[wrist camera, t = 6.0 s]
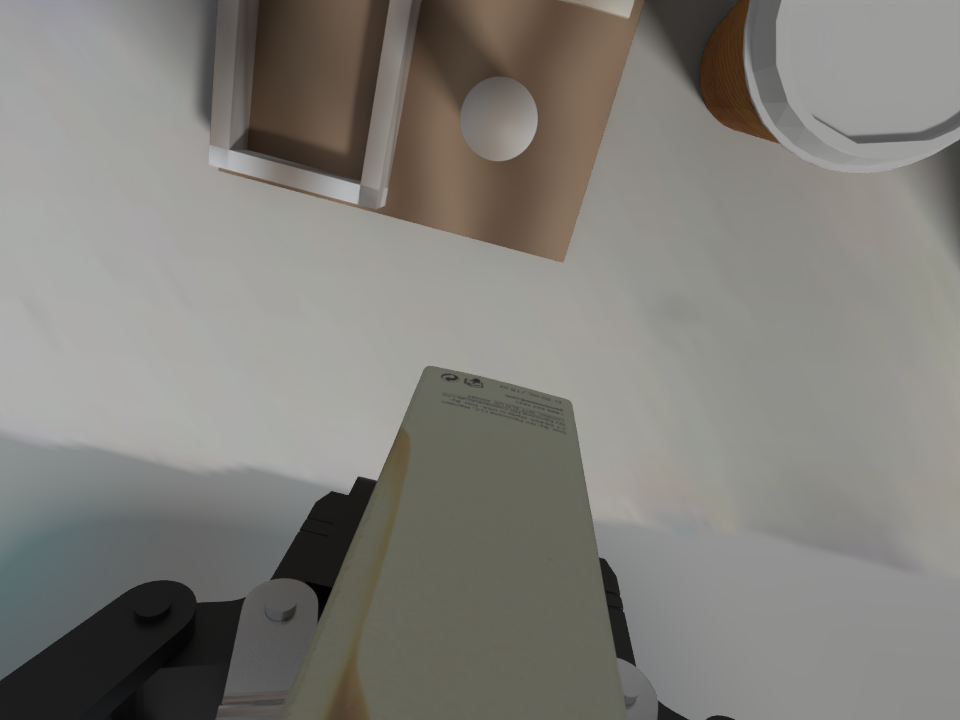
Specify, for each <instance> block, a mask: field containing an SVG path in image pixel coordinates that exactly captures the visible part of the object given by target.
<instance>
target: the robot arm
mask: <svg viewBox="0 0 960 720" xmlns="http://www.w3.org/2000/svg"><path fill="white" fill-rule="evenodd" d="M376 483H377V481H376V480H372V479H368V478H364V477H358V478H357V480H356V482H355V484H354V485H353V487H352V489H351V491H350V493H349V495H344V494H341V493H337V492H333V491H331V492H330V493H329V494H327V495H326V496H324V497H323V498H321V499H320V500H318V501H317V502H316V503H315V505H314V506H313V508H312V510H311V512H310V513H309V515H308V517H307V520H305V522H304V523H303V525H302V527H301V529H300V532H298V534H297V535H296V537H295V539H294V541H293V542H292V544H291V546H290V548H289V549H288V551H287V553H286V554H285V556H284V558H283V559H282V561H281V563H280V564H279V567H278V568H277V570H276V571H275V573H274V575H273V577H272V578H271V579H270V581H267V582H264V583H262V584H260V585H259V586H257V587H256V588H254V589H253V590H252V591H251V592H250V593H249V594H248V595H247V597H245V598H242V599H239V600H234V601H225V602H202V603H196V598H195V595H194V593H193V592H192V591H191V589H190V588H188V587H187V586H185V585H183V584H181V583H179V582H175V581H168V580H166V581H165V580H160V581H152V582H148V583H144V584H141V585H138V586H136V587H134V588H132V589H130V590H128V591H127V592H125V593H124V594H122V595H121V596H120V597H118V598H117V599H115V600H114V601H112V602H111V603H110V604H108V605H107V606H105V607H104V608H103V609H101V610H100V611H98V612H97V613H95V614H94V615H93V616H92V617H90V618H89V619H87V620H86V621H84V622H83V623H81V624H80V625H79V626H77V627H76V628H74V629H73V630H71V631H70V632H69V633H67V634H66V635H64V636H63V637H62V638H60V639H59V640H57V641H56V642H54V643H53V644H52V645H50V646H49V647H48V648H46V649H45V650H43V651H42V652H40V653H39V654H38V655H36V656H35V657H33V658H32V659H30V660H29V661H28V662H26V663H25V664H23V665H22V666H20V667H19V668H18V669H16V670H15V671H13V672H12V673H11V674H9V675H8V676H6V677H5V678H4V679H2V680H1V681H0V720H277V719H278V716H279V714H280V712H281V709H282V707H283V705H284V702H285V700H286V698H287V695H288V693H289V691H290V688H291V686H292V683H293V681H294V679H295V676H296V674H297V672H298V669H299V667H300V665H301V662H302V660H303V658H304V655H305V653H306V651H307V648H308V646H309V643H310V641H311V639H312V636H313V634H314V632H315V629H316V627H317V625H318V622H319V620H320V618H321V615H322V613H323V610H324V608H325V606H326V603H327V601H328V598H329V596H330V594H331V591H332V589H333V586H334V584H335V581H336V579H337V576H338V574H339V572H340V569H341V567H342V564H343V562H344V559H345V557H346V555H347V552H348V550H349V547H350V545H351V543H352V540H353V538H354V535H355V533H356V531H357V528H358V526H359V524H360V521H361V519H362V516H363V514H364V512H365V509H366V507H367V505H368V502H369V500H370V498H371V495H372V493H373V490H374V488H375V485H376ZM599 562H600V567H601V573H602V579H603V585H604V591H605V596H606V602H607V607H608V613H609V618H610V624H611V629H612V635H613V641H614V646H615V652H616V657H617V663H618V669H619V674H620V679H621V684H622V690H623V695H624V701H625V707H626V713H627V719H628V720H688V719H686V718H685V717H683V716H681V715H679V714H677V713H675V712H674V711H672V710H671V709H669V708H667V707H666V706H664V705H663V704H662V703H661V702H659V701H658V699H657V695H656V692H655V690H654V688H653V686H652V684H651V683H650V681H649V680H648V678H647V677H646V676H645V675H644V674H643V673H642V672H641V671H640V670H639V669H638V668H636V664H635V659H634V655H633V650H632V646H631V641H630V637H629V632H628V627H627V623H626V618H625V614H624V612H623V604H622V600H621V598H620V591H619V586H618V582H617V577H616V575H615V574H614V572H613V571H612V569H611V568H610V566H609V565H608V563H607V561H606V560H605V559H603V558H599ZM706 720H735V719H732V718H729V717H726V716H717V715H716V716H711V717H709V718H707V719H706Z"/></svg>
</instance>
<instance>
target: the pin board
mask: <svg viewBox="0 0 960 720" xmlns="http://www.w3.org/2000/svg"><path fill="white" fill-rule="evenodd" d="M644 1H645V0H218V7H217V25H216V42H215V60H214V77H213V95H212V113H211V130H210V148H209V165H212V166H215V167H219V171H222V172H226V173H229V174H233V175H237V176H241V177H244V178H248V179H252V180H256V181H259V182H263V183H267V184H271V185H274V186H278V187H282V188H286V189H289V190H293V191H297V192H301V193H304V194H308V195H312V196H316V197H319V198H323V199H327V200H331V201H334V202H338V203H342V204H346V205H349V206H353V207H357V208H361V209H364V210H368V211H372V212H376V213H379V214H383V215H387V216H391V217H394V218H398V219H402V220H406V221H409V222H413V223H417V224H421V225H424V226H428V227H432V228H436V229H439V230H443V231H447V232H451V233H454V234H458V235H462V236H465V237H469V238H473V239H477V240H480V241H484V242H488V243H492V244H495V245H499V246H503V247H507V248H510V249H514V250H518V251H522V252H525V253H529V254H533V255H537V256H540V257H544V258H548V259H552V260H555V261H559V262H564V259H565V256H566V252H567V249H568V246H569V243H570V239H571V236H572V233H573V230H574V227H575V223H576V220H577V217H578V214H579V211H580V207H581V204H582V201H583V198H584V194H585V191H586V188H587V185H588V182H589V178H590V175H591V172H592V169H593V165H594V162H595V159H596V156H597V153H598V149H599V146H600V143H601V140H602V137H603V133H604V130H605V127H606V124H607V120H608V117H609V114H610V111H611V108H612V104H613V101H614V98H615V95H616V91H617V88H618V85H619V82H620V79H621V75H622V72H623V69H624V66H625V63H626V59H627V56H628V53H629V50H630V46H631V43H632V40H633V37H634V34H635V30H636V27H637V24H638V21H639V17H640V14H641V11H642V8H643V5H644Z"/></svg>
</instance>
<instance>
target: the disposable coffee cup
mask: <svg viewBox="0 0 960 720" xmlns="http://www.w3.org/2000/svg"><path fill="white" fill-rule="evenodd" d="M700 87H701V91H702V96H703V99H704V101H705V104H706V106H707V108H708V109H709V111H710V112H711V113H712V114H713V116H714V117H715V118H716V119H717V120H718V121H719V122H721V123H722V124H723V125H725V126H727V127H729V128H731V129H733V130H736V131H740V132H744V133H747V134H750V135H753V136H756V137H760V138H763V139H766V140H769V141H772V142H776V143H779V144H781V145H782V147H784V148H786V149H787V150H789V151H790V152H792V153H793V154H795V155H796V156H798V157H800V158H801V159H803V160H805V161H806V162H808V163H810V164H812V165H815V166H818V167H822V168H825V169H830V170H836V171H841V172H847V173H872V172H878V171H884V170H890V169H896V168H899V167H902V166H906V165H909V164H912V163H915V162H918V161H920V160H922V159H924V158H927V157H929V156H931V155H933V154H935V153H937V152H939V151H941V150H942V149H944V148H946V147H947V146H949V145H951V144H953V143H954V142H956V141H958V140H959V139H960V0H739V1H738V2H737V4H736V5H735V6H734V7H733V8H732V9H731V11H730V12H729V13H728V14H727V16H726V17H725V18H724V19H723V20H722V21H721V22H720V24H719V25H718V26H717V28H716V29H715V30H714V32H713V33H712V35H711V37H710V39H709V41H708V43H707V45H706V47H705V50H704V54H703V58H702V61H701V68H700Z"/></svg>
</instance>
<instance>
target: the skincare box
mask: <svg viewBox="0 0 960 720" xmlns="http://www.w3.org/2000/svg"><path fill="white" fill-rule="evenodd" d="M277 720H628V719H627V713H626V707H625V701H624V695H623V690H622V684H621V679H620V674H619V669H618V663H617V657H616V652H615V646H614V641H613V635H612V629H611V624H610V618H609V613H608V607H607V602H606V596H605V591H604V585H603V579H602V573H601V567H600V562H599V556H598V550H597V544H596V539H595V533H594V527H593V521H592V515H591V510H590V505H589V499H588V493H587V488H586V482H585V476H584V471H583V465H582V459H581V453H580V447H579V441H578V435H577V430H576V424H575V418H574V412H573V406H572V403H571V402H570V401H569V400H567V399H564V398H560V397H556V396H552V395H549V394H545V393H542V392H538V391H535V390H531V389H528V388H524V387H520V386H516V385H513V384H509V383H505V382H501V381H497V380H493V379H489V378H485V377H481V376H477V375H472V374H468V373H463V372H459V371H454V370H449V369H444V368H439V367H434V366H428V367H426V368H425V369H424V371H423V373H422V375H421V378H420V380H419V382H418V385H417V387H416V389H415V392H414V394H413V396H412V399H411V401H410V404H409V406H408V409H407V411H406V414H405V416H404V419H403V421H402V423H401V426H400V428H399V431H398V433H397V436H396V438H395V441H394V443H393V446H392V448H391V450H390V452H389V455H388V457H387V459H386V462H385V464H384V466H383V469H382V471H381V474H380V476H379V478H378V481H377V483H376V485H375V488H374V490H373V493H372V495H371V498H370V500H369V502H368V505H367V507H366V509H365V512H364V514H363V516H362V519H361V521H360V524H359V526H358V528H357V531H356V533H355V535H354V538H353V540H352V543H351V545H350V547H349V550H348V552H347V555H346V557H345V559H344V562H343V564H342V567H341V569H340V572H339V574H338V576H337V579H336V581H335V584H334V586H333V589H332V591H331V594H330V596H329V598H328V601H327V603H326V606H325V608H324V610H323V613H322V615H321V618H320V620H319V622H318V625H317V627H316V629H315V632H314V634H313V636H312V639H311V641H310V643H309V646H308V648H307V651H306V653H305V655H304V658H303V660H302V662H301V665H300V667H299V669H298V672H297V674H296V676H295V679H294V681H293V683H292V686H291V688H290V691H289V693H288V695H287V698H286V700H285V702H284V705H283V707H282V709H281V712H280V714H279V716H278V719H277Z"/></svg>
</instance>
